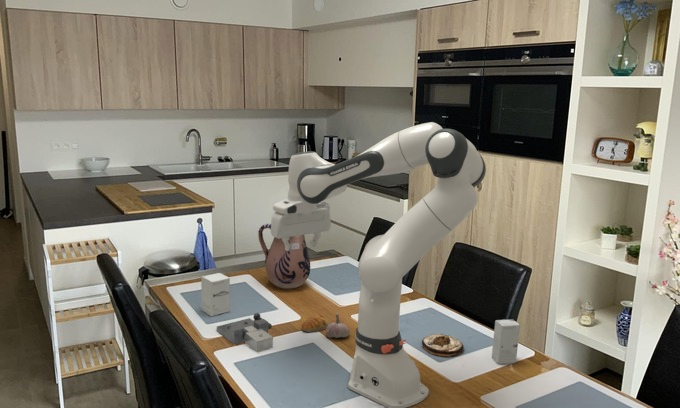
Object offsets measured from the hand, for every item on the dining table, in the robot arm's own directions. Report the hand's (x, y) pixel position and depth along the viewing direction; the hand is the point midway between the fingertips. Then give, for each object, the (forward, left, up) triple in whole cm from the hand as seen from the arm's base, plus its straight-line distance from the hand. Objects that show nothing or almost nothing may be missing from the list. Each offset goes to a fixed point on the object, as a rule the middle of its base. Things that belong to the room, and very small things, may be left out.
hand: (301, 248), depth 169 cm
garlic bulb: (-7, -10, -29) cm, 32 cm away
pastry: (+2, -8, -30) cm, 31 cm away
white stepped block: (+3, +14, -29) cm, 33 cm away
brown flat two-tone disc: (-32, -32, -30) cm, 54 cm away
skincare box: (-48, -41, -29) cm, 70 cm away
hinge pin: (+14, +5, -29) cm, 33 cm away
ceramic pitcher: (+42, -21, -29) cm, 55 cm away
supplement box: (+33, +13, -29) cm, 46 cm away
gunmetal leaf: (+13, +14, -29) cm, 35 cm away
